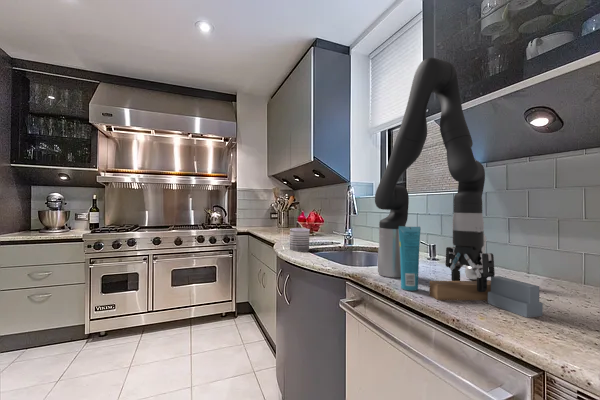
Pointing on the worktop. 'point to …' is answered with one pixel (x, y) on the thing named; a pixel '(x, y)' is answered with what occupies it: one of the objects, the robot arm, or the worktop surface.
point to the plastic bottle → (470, 272)
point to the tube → (409, 256)
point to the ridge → (515, 296)
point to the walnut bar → (457, 290)
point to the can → (299, 239)
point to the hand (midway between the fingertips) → (468, 287)
